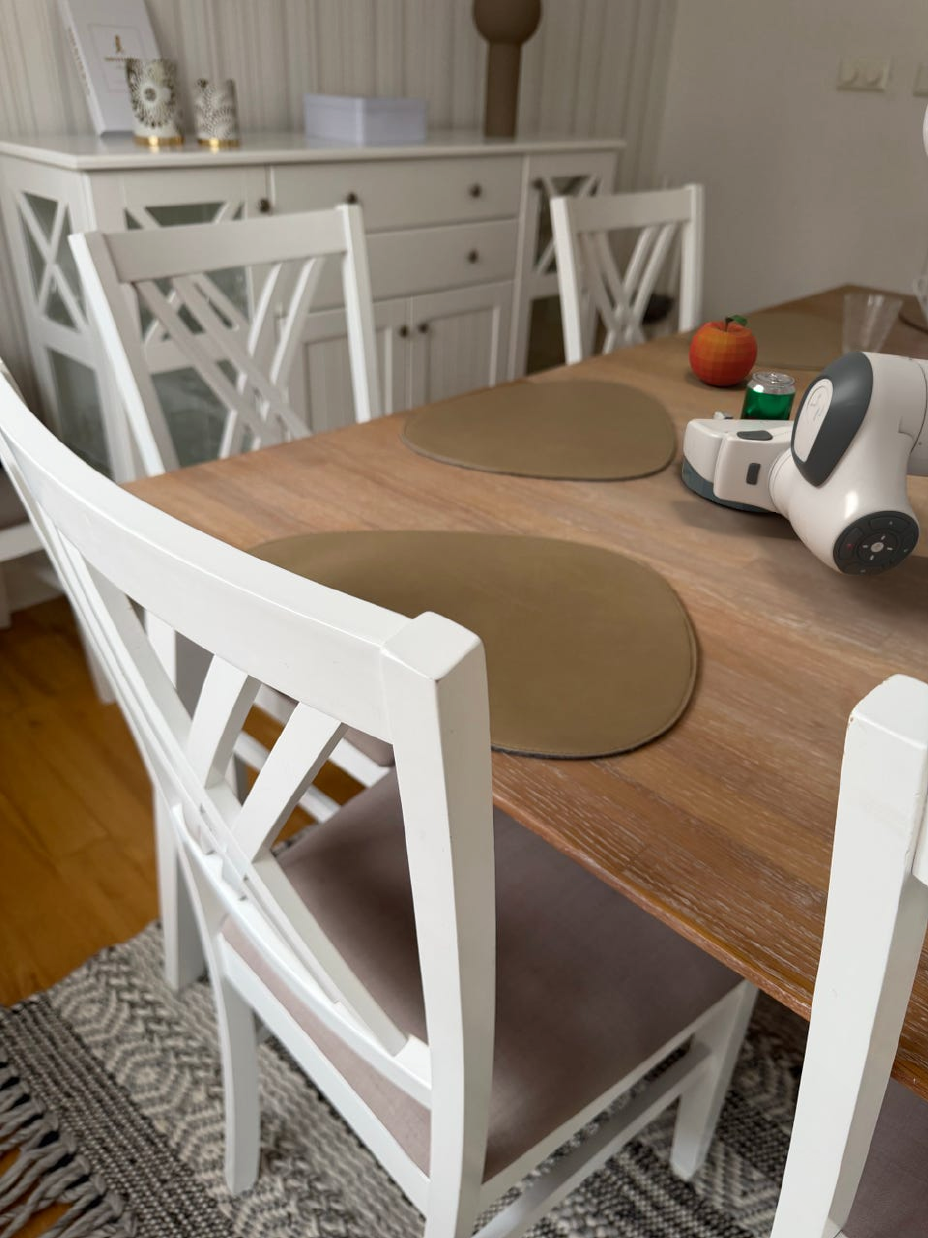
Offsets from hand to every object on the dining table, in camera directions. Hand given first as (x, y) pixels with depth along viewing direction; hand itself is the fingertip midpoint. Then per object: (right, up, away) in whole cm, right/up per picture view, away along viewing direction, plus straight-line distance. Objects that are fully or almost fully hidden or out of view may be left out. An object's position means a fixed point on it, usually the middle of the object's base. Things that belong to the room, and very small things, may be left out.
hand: (762, 419), depth 103 cm
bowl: (0, -7, +3) cm, 8 cm away
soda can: (0, -7, +3) cm, 7 cm away
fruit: (+4, +13, +36) cm, 38 cm away
